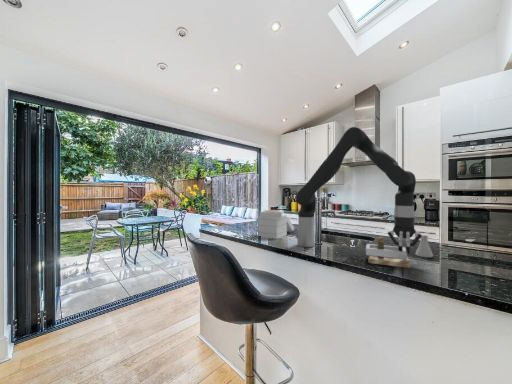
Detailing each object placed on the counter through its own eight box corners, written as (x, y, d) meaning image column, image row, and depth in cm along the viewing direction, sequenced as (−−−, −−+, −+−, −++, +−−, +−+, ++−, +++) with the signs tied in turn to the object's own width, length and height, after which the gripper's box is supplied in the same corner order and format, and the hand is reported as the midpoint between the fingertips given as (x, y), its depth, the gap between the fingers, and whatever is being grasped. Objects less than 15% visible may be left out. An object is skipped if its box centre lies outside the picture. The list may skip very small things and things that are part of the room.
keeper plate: (368, 262, 107) (368, 238, 107) (369, 256, 117) (369, 233, 117) (410, 267, 99) (410, 241, 99) (407, 260, 110) (407, 236, 110)
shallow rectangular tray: (365, 254, 108) (365, 248, 108) (366, 249, 117) (366, 243, 117) (407, 259, 101) (407, 252, 101) (405, 253, 110) (405, 247, 110)
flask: (425, 258, 112) (425, 237, 112) (411, 254, 119) (411, 234, 119) (437, 257, 114) (437, 236, 114) (422, 253, 121) (422, 234, 121)
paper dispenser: (296, 232, 181) (296, 209, 181) (277, 240, 156) (277, 212, 156) (274, 230, 192) (274, 208, 192) (253, 237, 167) (253, 211, 167)
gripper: (386, 215, 105) (386, 254, 105) (424, 217, 99) (424, 258, 99) (386, 214, 112) (386, 250, 112) (421, 215, 105) (421, 254, 106)
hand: (404, 254), depth 105 cm, fingers closed on shallow rectangular tray, 1 cm apart
